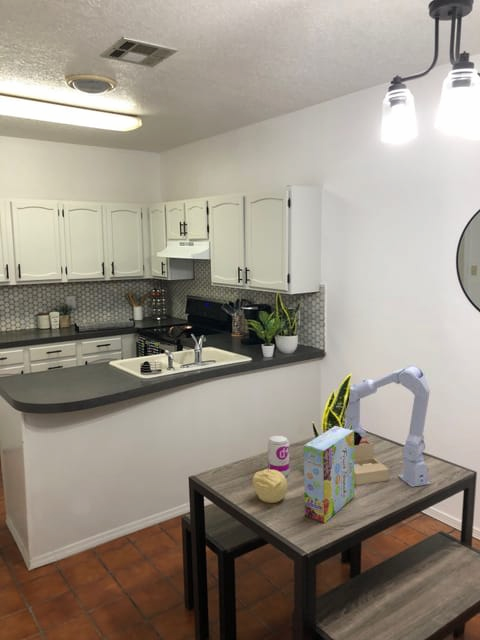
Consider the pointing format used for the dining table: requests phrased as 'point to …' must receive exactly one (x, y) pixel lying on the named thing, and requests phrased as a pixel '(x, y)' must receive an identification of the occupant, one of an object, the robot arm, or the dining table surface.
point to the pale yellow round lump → (270, 485)
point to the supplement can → (278, 454)
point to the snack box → (328, 473)
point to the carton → (369, 471)
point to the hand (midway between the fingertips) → (352, 447)
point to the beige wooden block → (363, 450)
